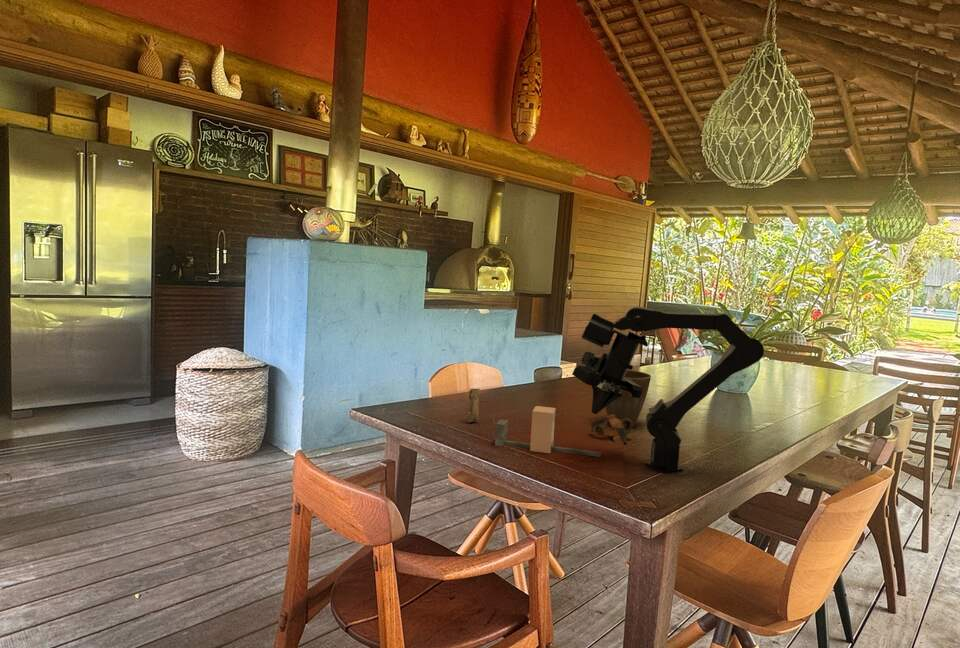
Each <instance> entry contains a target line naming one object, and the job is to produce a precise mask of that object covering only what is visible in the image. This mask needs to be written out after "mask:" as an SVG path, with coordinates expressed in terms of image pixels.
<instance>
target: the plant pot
mask: <svg viewBox="0 0 960 648" xmlns="http://www.w3.org/2000/svg"><path fill="white" fill-rule="evenodd" d="M624 378H625V379H629V380H631V381H633V382H634V383H636V384H637V385H639V386H641V387H642V394H641V396H640V398H635V397H632V396H631V395H630V392H628V391H626V390H623V389H620V394H622V395H623V396H622V397H619V398H617V399H616V400H614V401H613V402H611V403H610V404H609V405H607V406H606V407H605V408H604V409H605V412H606V417H607V416H610V415H615V417H616V418H617V419H619V420H620V419H623V418H629V419H630V420H631V421H632V423H633V427H635V425H636V423H637V420H638V418H639V417H640V414H641V411H642V409H643V407H644V404H645V402H646V397H647V395H648V392H649V387H650V383H651V379H652V375H651V374H648V373H646V372H643V371H637V370H633V369H632V370H630V369H628V370H627V372H626V374H625V376H624ZM604 381H605V380H604ZM624 428H625V429H626V428H627V424H626V423H625V424H624Z"/></svg>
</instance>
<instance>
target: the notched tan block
mask: <svg viewBox="0 0 960 648" xmlns="http://www.w3.org/2000/svg"><path fill="white" fill-rule="evenodd" d="M555 423H556V407H548V406H541V405H540V406H539V405H536V406H535V407H534V408H533V410H532V412H531V429H530V448H529V451H530V452H537V453H545V454H551V452H552V451H551V446H554V438H555V437H554V436H555Z"/></svg>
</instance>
